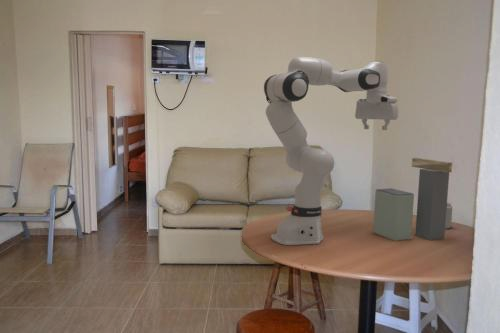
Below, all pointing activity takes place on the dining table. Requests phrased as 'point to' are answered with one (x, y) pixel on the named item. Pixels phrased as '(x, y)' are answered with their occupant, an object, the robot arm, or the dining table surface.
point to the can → (448, 216)
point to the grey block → (393, 214)
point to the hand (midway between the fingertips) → (375, 129)
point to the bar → (432, 164)
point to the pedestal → (432, 204)
